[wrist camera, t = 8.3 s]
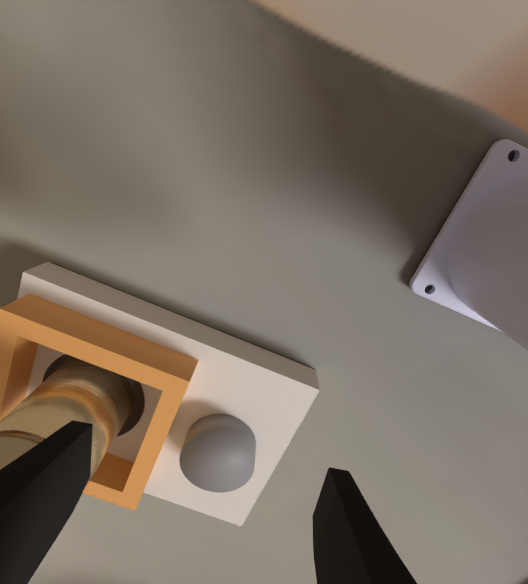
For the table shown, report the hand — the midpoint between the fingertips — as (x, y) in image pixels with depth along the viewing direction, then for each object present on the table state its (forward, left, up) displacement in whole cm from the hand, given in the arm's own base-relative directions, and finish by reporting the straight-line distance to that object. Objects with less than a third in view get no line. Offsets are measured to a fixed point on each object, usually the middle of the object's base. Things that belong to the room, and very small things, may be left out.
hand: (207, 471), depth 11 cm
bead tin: (+6, +6, -8) cm, 11 cm away
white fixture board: (+3, +6, -10) cm, 12 cm away
